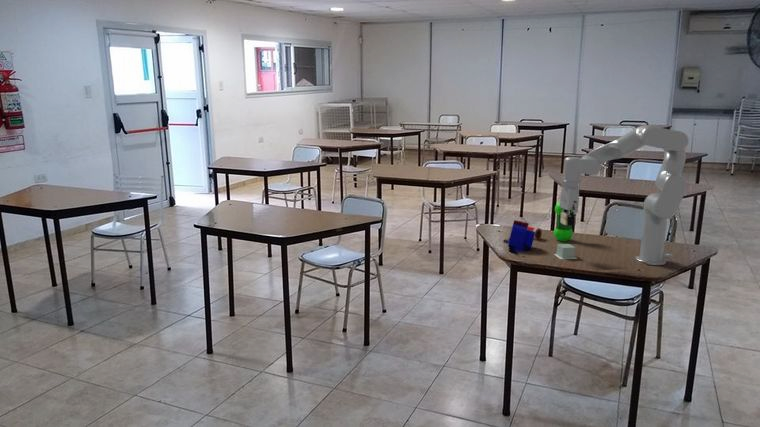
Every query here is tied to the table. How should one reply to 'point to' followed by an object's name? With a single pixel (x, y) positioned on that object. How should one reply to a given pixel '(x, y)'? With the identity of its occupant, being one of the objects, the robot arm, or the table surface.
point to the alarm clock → (520, 237)
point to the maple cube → (565, 218)
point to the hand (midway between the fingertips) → (567, 223)
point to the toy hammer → (537, 230)
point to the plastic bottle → (562, 226)
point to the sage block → (565, 251)
